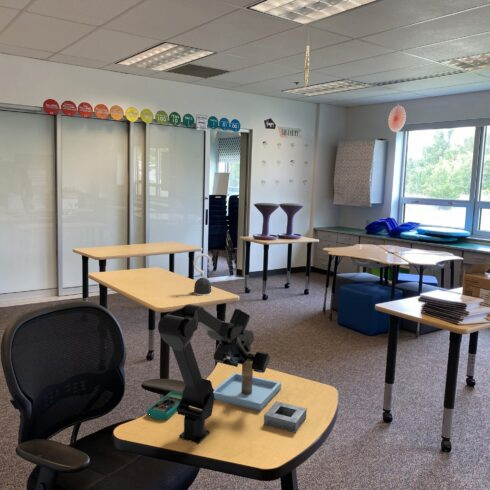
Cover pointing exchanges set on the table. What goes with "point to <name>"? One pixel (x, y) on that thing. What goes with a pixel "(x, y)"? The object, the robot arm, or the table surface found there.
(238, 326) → the robot arm
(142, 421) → the table surface
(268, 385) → the slate-blue tray
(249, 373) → the walnut dowel
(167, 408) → the digital multimeter
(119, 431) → the table surface
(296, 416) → the grey socket block
